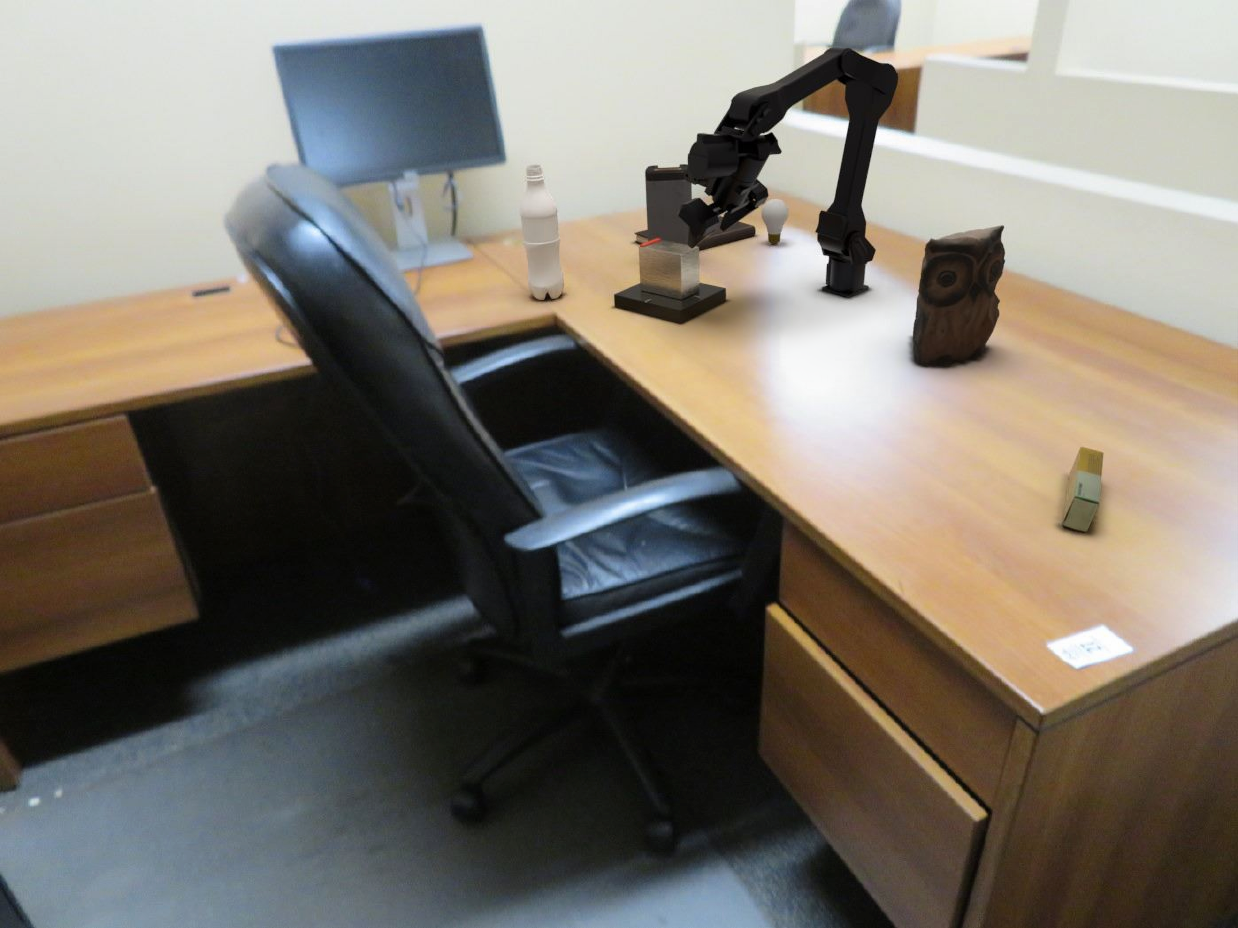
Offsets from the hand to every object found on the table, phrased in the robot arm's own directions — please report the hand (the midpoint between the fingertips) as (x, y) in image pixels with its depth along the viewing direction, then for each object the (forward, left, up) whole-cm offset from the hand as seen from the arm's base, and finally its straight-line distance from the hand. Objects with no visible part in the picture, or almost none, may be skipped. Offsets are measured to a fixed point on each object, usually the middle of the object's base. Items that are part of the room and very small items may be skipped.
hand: (706, 238), depth 155 cm
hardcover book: (+32, -29, -13) cm, 45 cm away
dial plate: (+5, +4, -13) cm, 14 cm away
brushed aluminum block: (+5, +4, -10) cm, 12 cm away
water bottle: (+27, +17, -13) cm, 35 cm away
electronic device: (+23, -13, -13) cm, 29 cm away
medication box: (-79, +18, -13) cm, 82 cm away
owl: (-44, -10, -13) cm, 46 cm away
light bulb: (+15, -37, -13) cm, 42 cm away
